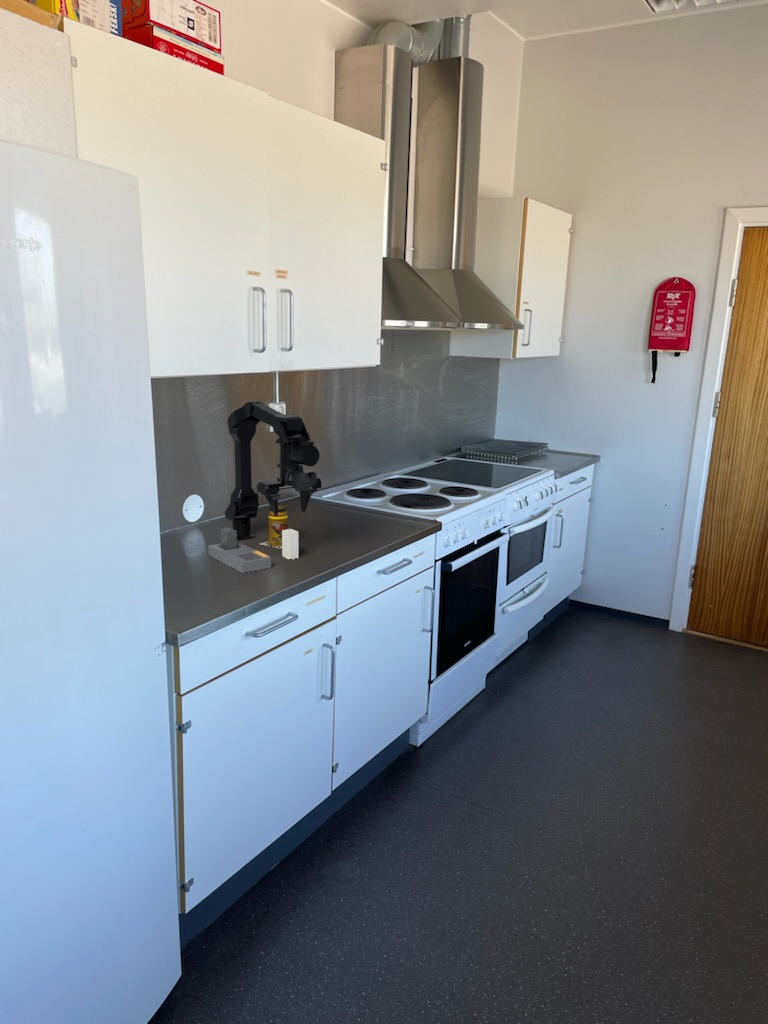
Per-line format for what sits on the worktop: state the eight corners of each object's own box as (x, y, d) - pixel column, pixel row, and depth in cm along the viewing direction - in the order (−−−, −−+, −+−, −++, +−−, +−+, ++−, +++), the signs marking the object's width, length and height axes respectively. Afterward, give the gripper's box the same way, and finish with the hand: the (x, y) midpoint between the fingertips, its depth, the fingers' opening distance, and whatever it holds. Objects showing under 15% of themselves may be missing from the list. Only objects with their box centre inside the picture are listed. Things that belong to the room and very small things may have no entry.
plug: (282, 556, 217) (282, 530, 216) (290, 554, 219) (290, 528, 217) (289, 559, 215) (289, 533, 213) (298, 558, 216) (298, 531, 214)
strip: (208, 555, 216) (208, 544, 216) (236, 550, 222) (235, 540, 221) (242, 573, 202) (242, 562, 201) (271, 567, 207) (271, 556, 206)
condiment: (280, 549, 225) (280, 510, 222) (258, 544, 229) (257, 506, 226) (294, 543, 231) (294, 506, 228) (272, 539, 235) (272, 502, 232)
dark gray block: (221, 555, 217) (220, 529, 215) (230, 553, 219) (229, 527, 217) (227, 558, 214) (227, 532, 212) (237, 557, 216) (236, 530, 214)
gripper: (276, 468, 198) (277, 525, 202) (333, 462, 210) (332, 515, 214) (255, 462, 206) (256, 516, 210) (311, 456, 218) (310, 507, 222)
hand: (289, 514), depth 214 cm, fingers open, 9 cm apart
